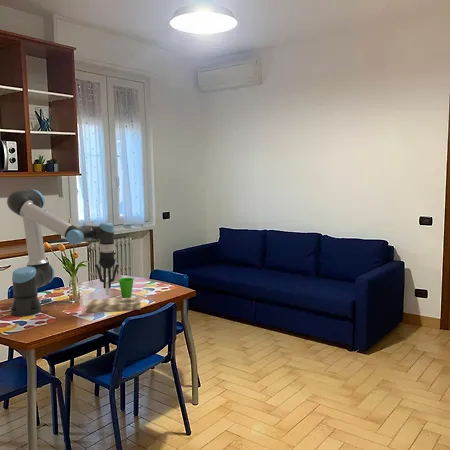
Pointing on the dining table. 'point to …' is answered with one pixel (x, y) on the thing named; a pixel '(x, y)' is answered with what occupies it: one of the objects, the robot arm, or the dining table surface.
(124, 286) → the cup
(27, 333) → the dining table surface
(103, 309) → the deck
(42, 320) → the dining table surface
